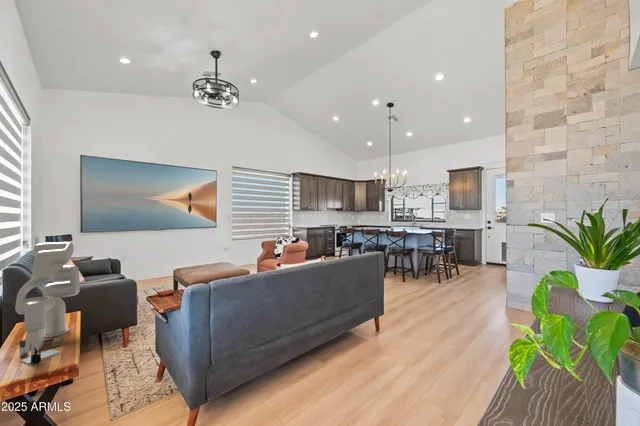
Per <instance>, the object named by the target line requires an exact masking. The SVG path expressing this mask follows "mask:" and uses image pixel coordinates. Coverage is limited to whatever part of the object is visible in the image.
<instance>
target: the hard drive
mask: <svg viewBox="0 0 640 426" xmlns="http://www.w3.org/2000/svg"><path fill="white" fill-rule="evenodd" d="M39 354H41V361H44V360H46V359H49V358H51V357H54V356H58V355H60V351H59V350H56V349H54V348H50V349H48V350H45V351H43V352H42V351H41V353H39ZM20 362H21V363H22V364H23V363H24V364H25V365H27V366H30V365H32V364H31V356H28V357H25V358H23V359H22V358H21V359H20Z"/></svg>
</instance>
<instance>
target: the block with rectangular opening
mask: <svg viewBox="0 0 640 426" xmlns="http://www.w3.org/2000/svg"><path fill="white" fill-rule="evenodd" d="M64 338H65V337H64V336H60V337H59V336H57V337H52V338H48V339H44V344H43V345H42V347H41V350H45V349H53V348H55V347H62V345H63V343H64V340H65V339H64Z"/></svg>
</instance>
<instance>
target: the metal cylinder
mask: <svg viewBox="0 0 640 426" xmlns="http://www.w3.org/2000/svg"><path fill="white" fill-rule="evenodd" d="M25 342H26V338H24V339H21V340H19V341H18V344H19V347H18V349H19V350H18V351H19V357H20V358H24V357H27V356H28V355H29V352H28V353H25Z"/></svg>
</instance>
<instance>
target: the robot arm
mask: <svg viewBox="0 0 640 426" xmlns="http://www.w3.org/2000/svg"><path fill="white" fill-rule="evenodd" d="M74 251H75V247H74V244H73V242H71V241H61V242H60V241H59V242H55V241H54V242H40V243H37V244H35V245H34V246H33V252H34V254H35V256H34V260H33V266H32V274H31V278H30V279H29V280H28V281H27V282H26V283H25V284H23V285H22V287H21V288H20V289H19V291H18V292H17V295H16V300H15V308H14V309H15V312H16V313H17V314H18V315H24V332H25V333H26V335H25V339H26V342H25V353H28V354H29V352H30V357H31V364H30V365H37V364H40V363H41V361H42V360H41V354H40V353H42V349H41V347H42V345H43V344H44V340H45V338H55V337H59V336H62V335H65V334H66V333H68V332H69V331H70V328H68V327H67V326H66V324H67V323H66V303H65V301H64V300H63V299H62V298H67V297H73V296H77V295H78V294H79V293H80V291H81V285H80V271H79V267H78V266H77V265H75V264H68V263H69V262H70V261H71V258H72V255H73V254H74ZM65 264H67V265H65ZM47 282H48V283H47ZM45 283H47V284H45ZM43 284H45V285H43ZM40 285H43V287H42V289H41V290H42V291H41V293H42V296H37V297H28V298H26V297H27V295H28V294H29V292H30V291H31V290H33V289H34V288H36V287H38V286H40Z"/></svg>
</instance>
